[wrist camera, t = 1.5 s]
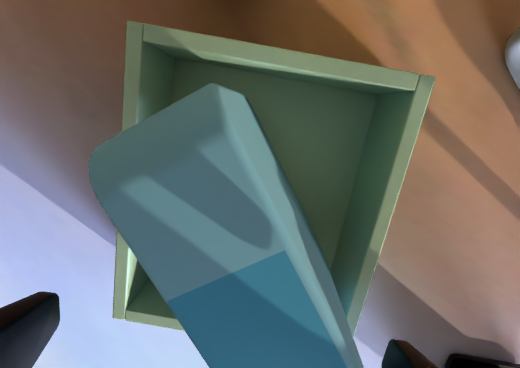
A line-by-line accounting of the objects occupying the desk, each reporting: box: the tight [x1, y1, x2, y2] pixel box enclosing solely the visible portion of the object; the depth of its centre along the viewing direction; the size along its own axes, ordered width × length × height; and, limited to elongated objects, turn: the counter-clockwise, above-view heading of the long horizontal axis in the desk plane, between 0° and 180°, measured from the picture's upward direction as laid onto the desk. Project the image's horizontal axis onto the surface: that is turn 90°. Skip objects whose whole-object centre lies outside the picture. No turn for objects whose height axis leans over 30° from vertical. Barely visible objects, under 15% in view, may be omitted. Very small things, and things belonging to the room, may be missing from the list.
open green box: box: [113, 20, 436, 338], centre depth 18 cm, size 15×17×5 cm
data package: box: [88, 83, 363, 368], centre depth 15 cm, size 12×4×12 cm, turn 27°
